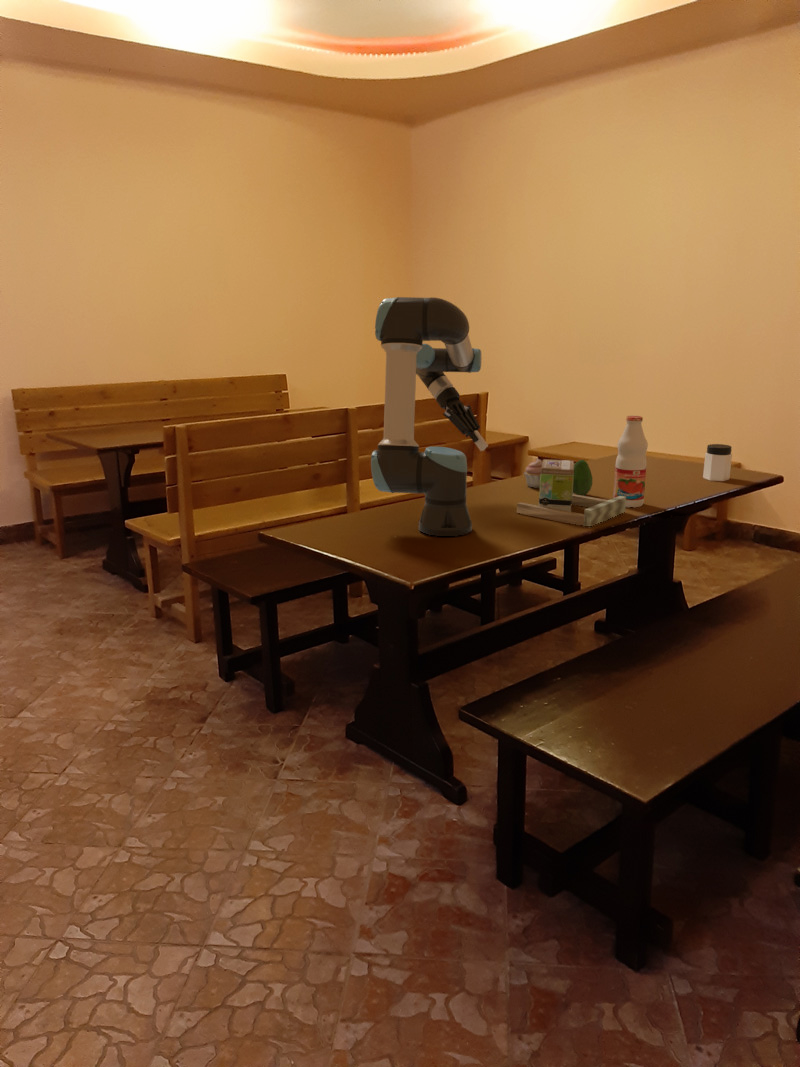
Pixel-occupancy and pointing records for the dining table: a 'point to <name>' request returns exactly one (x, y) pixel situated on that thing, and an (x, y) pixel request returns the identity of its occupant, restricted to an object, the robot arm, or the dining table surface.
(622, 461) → the fruit juice
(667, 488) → the dining table surface
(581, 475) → the avocado
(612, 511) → the chute
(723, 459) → the jar
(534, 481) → the cupcake
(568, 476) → the tea box
